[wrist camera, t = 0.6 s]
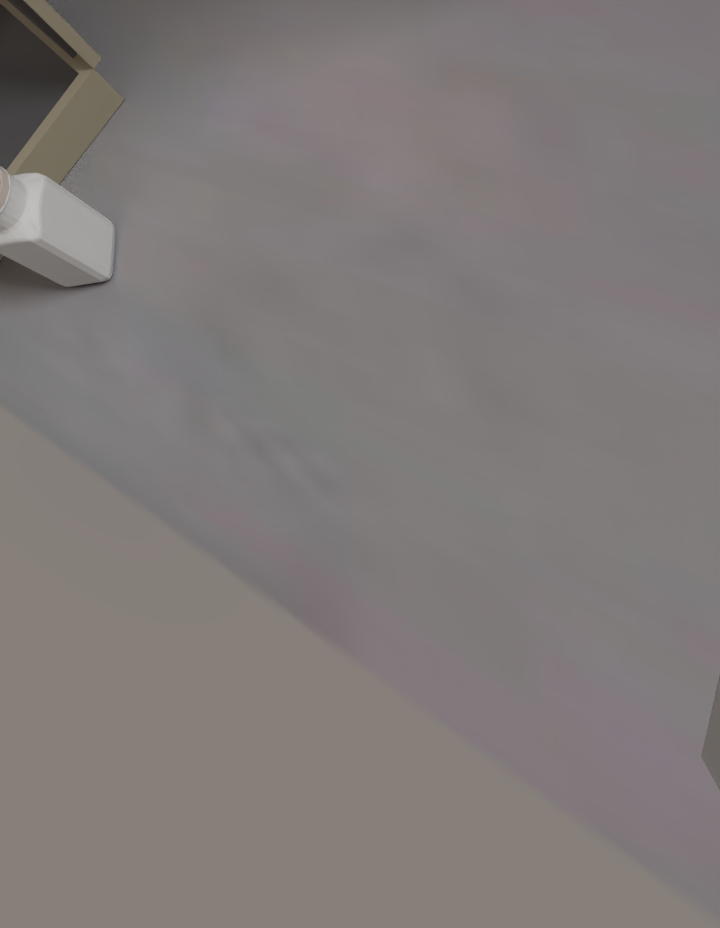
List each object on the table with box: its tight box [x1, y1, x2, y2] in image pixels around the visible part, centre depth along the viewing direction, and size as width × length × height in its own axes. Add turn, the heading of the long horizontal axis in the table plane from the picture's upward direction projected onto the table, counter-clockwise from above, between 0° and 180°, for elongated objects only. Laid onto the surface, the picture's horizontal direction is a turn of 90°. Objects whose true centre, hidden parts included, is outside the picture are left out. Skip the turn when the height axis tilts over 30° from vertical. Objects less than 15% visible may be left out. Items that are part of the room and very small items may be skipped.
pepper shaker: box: [0, 166, 116, 287], centre depth 37 cm, size 4×4×10 cm
